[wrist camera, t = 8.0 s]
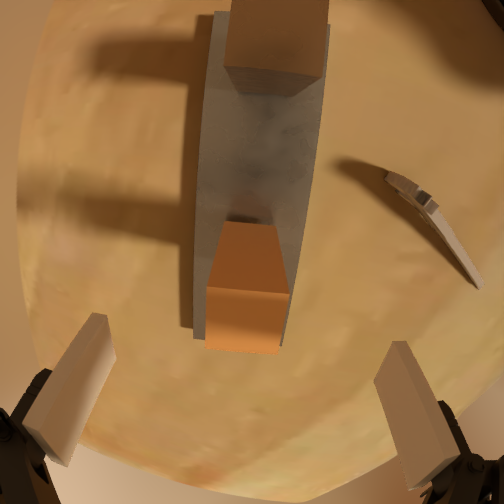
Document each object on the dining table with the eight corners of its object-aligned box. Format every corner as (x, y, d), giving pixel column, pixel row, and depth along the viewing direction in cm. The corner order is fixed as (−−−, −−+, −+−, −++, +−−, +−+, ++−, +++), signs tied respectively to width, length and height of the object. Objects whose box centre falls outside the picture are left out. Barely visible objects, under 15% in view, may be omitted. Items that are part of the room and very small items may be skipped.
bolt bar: (326, 29, 19) (383, -34, 8) (280, 337, 31) (290, 437, 20) (216, 17, 19) (187, -60, 8) (195, 329, 31) (172, 427, 20)
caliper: (380, 178, 25) (413, 195, 19) (387, 169, 25) (421, 184, 19) (477, 288, 30) (504, 316, 24) (482, 281, 29) (510, 308, 24)
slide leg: (275, 223, 24) (289, 293, 15) (269, 268, 26) (277, 354, 16) (225, 218, 24) (206, 286, 14) (221, 263, 26) (205, 348, 16)
